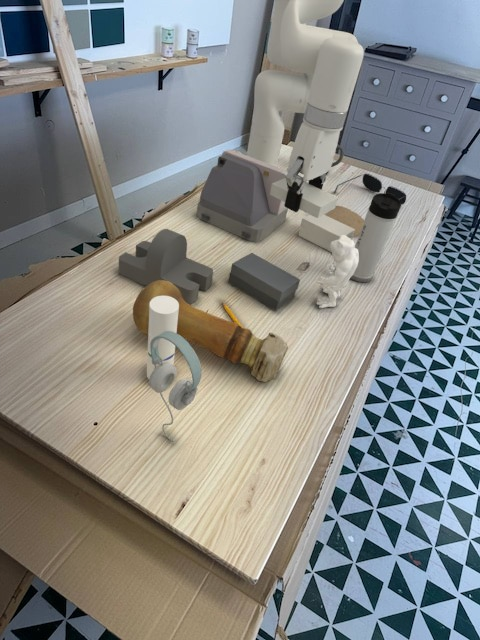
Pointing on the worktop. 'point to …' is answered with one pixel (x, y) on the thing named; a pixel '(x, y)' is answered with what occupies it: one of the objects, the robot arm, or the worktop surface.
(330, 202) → the white box
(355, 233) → the clay tablet
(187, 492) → the worktop surface
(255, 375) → the stamp
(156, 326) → the tube
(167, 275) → the bracket
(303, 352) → the worktop surface
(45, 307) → the worktop surface
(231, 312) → the pencil
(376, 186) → the sunglasses
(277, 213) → the instant camera
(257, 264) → the grey stack
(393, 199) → the travel mug
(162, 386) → the headphones
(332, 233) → the off-white rectangular block
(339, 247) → the figurine
